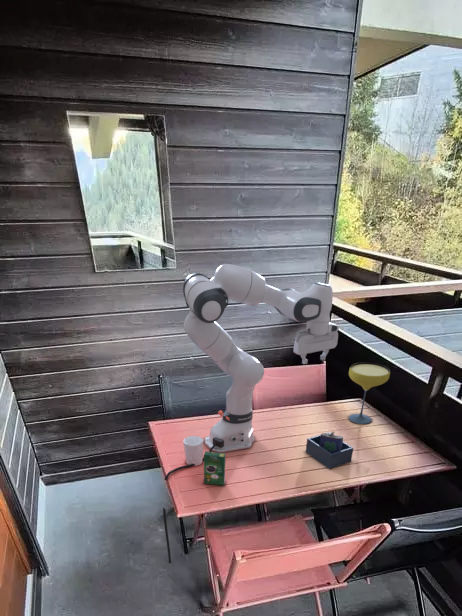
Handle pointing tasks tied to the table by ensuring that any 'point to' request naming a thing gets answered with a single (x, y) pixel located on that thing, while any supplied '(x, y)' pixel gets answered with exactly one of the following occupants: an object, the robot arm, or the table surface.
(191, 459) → the white cup
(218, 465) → the coffee box
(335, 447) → the flask
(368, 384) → the cocktail glass
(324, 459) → the tub
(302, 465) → the table surface
